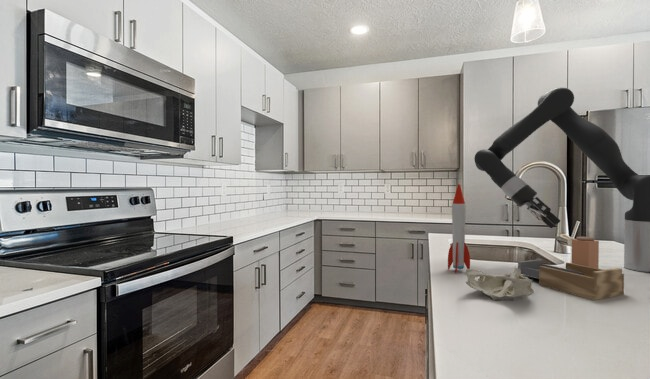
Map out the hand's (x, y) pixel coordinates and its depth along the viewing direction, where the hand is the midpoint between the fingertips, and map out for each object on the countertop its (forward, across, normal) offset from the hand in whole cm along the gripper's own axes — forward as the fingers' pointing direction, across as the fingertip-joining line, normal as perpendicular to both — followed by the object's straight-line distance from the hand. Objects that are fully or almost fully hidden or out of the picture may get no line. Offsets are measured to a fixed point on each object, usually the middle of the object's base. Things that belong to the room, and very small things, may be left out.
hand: (555, 225), depth 114 cm
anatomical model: (+6, -31, +29) cm, 43 cm away
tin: (+17, -1, +6) cm, 18 cm away
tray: (+10, -11, +15) cm, 21 cm away
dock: (+17, -16, +12) cm, 26 cm away
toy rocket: (-6, -10, +35) cm, 37 cm away
